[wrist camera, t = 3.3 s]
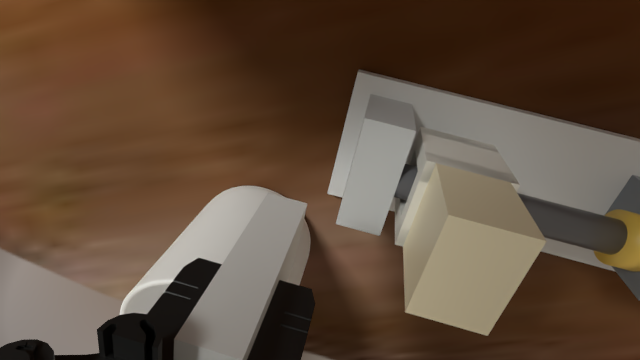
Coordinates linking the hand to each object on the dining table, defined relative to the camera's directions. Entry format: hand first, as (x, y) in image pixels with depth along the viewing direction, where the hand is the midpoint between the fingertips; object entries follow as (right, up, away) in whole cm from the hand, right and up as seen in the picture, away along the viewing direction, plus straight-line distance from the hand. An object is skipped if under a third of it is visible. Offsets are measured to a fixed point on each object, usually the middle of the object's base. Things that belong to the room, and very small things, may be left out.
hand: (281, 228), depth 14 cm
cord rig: (+13, +2, +9) cm, 15 cm away
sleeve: (+8, +2, +7) cm, 11 cm away
